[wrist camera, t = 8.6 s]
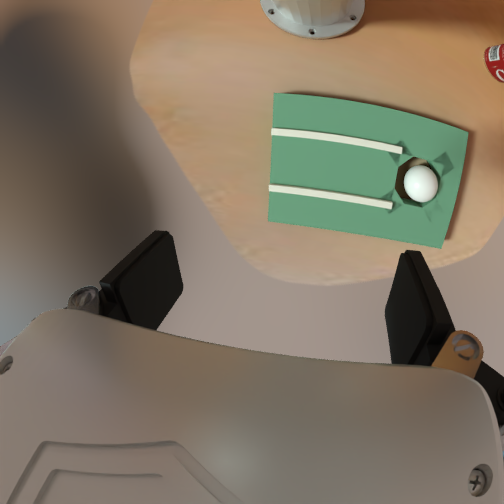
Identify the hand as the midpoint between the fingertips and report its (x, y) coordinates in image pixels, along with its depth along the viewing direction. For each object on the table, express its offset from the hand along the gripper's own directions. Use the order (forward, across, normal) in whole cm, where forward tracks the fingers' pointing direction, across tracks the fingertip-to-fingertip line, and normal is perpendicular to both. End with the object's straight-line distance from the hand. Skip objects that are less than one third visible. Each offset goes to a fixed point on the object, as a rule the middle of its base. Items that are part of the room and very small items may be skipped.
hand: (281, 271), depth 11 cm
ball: (+23, -14, +2) cm, 27 cm away
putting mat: (+25, -7, +1) cm, 26 cm away
